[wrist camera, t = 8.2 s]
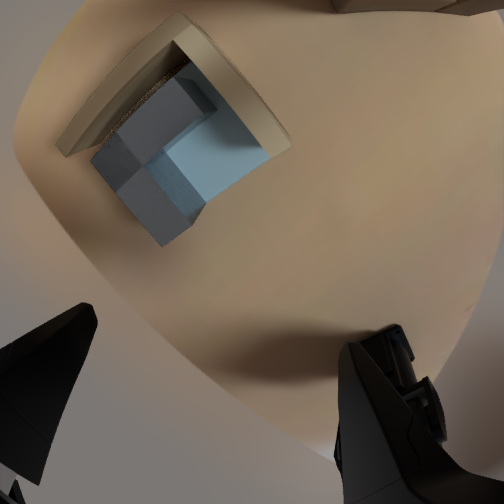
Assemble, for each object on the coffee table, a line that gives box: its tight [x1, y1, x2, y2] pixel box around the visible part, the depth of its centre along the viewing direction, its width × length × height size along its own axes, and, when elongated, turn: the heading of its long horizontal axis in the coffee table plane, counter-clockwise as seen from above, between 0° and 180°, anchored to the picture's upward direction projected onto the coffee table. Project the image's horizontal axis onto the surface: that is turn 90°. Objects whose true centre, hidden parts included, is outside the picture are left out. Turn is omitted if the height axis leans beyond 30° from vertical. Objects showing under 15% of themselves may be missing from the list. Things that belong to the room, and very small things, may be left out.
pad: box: [157, 61, 270, 203], centre depth 17 cm, size 8×8×1 cm
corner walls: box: [56, 11, 292, 159], centre depth 15 cm, size 9×11×4 cm
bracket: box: [90, 77, 218, 247], centre depth 16 cm, size 7×7×4 cm
